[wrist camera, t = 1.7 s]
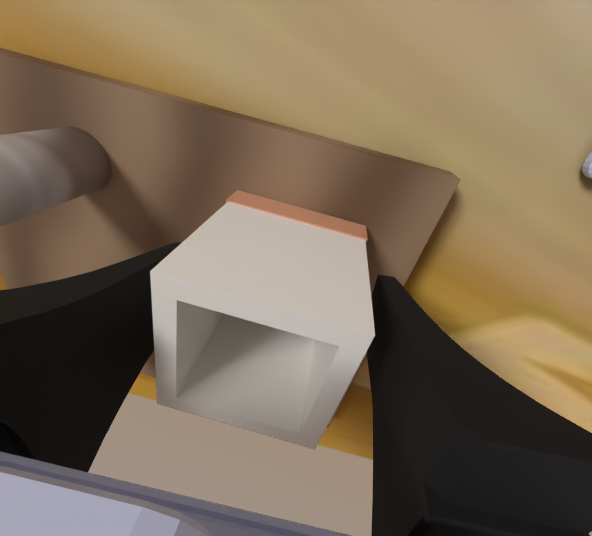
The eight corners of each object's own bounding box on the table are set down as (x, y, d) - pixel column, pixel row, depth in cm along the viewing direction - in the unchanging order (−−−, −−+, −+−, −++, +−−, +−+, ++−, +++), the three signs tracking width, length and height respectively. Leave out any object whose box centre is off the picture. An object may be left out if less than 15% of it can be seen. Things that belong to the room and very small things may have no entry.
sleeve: (365, 224, 11) (379, 333, 6) (328, 320, 14) (316, 451, 9) (238, 189, 11) (147, 268, 6) (225, 291, 14) (155, 404, 9)
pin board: (450, 171, 11) (517, 225, 7) (329, 410, 19) (322, 503, 15) (-56, 32, 11) (-317, -6, 7) (44, 327, 20) (-44, 395, 15)
